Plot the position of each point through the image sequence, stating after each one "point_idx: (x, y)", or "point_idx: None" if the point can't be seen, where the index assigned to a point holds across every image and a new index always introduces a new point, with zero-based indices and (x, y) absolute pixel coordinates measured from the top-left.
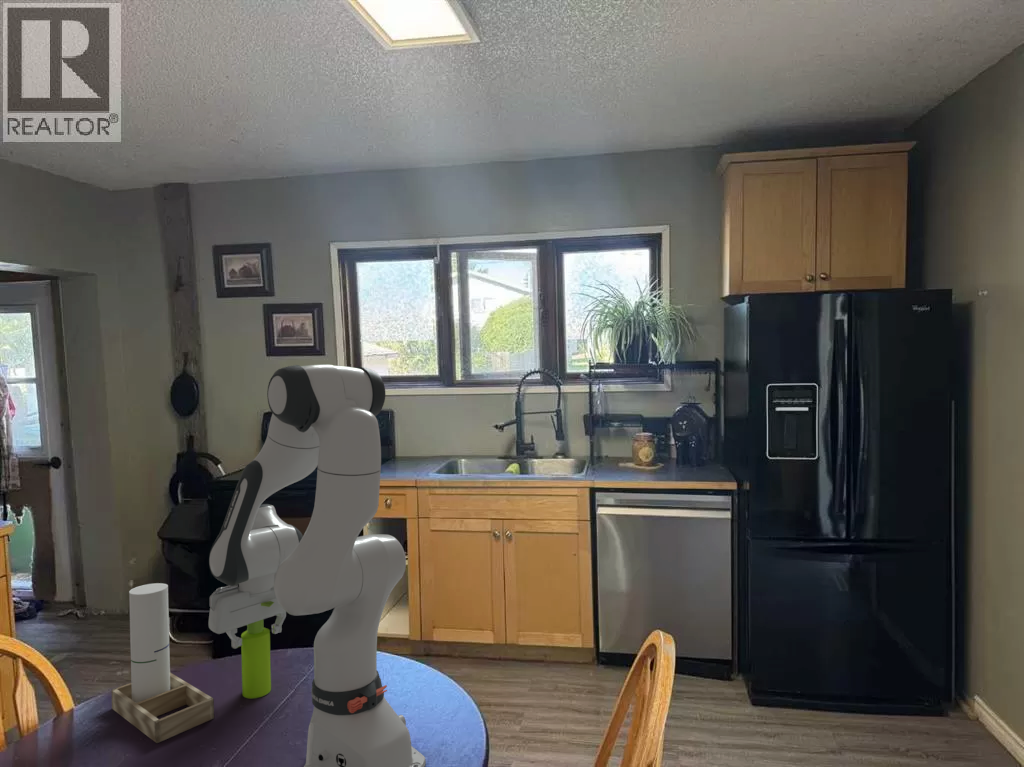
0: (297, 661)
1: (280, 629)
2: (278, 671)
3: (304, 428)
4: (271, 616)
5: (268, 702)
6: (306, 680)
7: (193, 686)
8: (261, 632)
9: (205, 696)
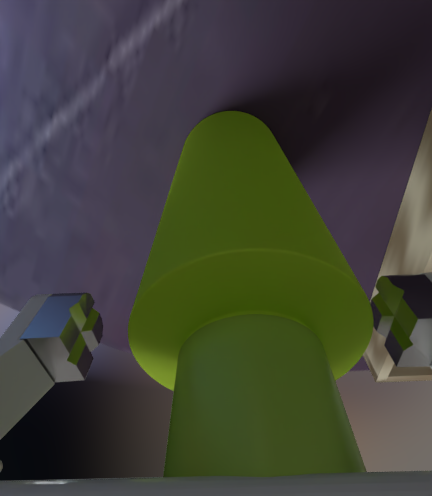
0: (46, 255)
1: (32, 308)
2: (118, 239)
3: None
4: (44, 482)
5: (243, 33)
6: (47, 98)
7: (428, 263)
8: (225, 313)
9: None
